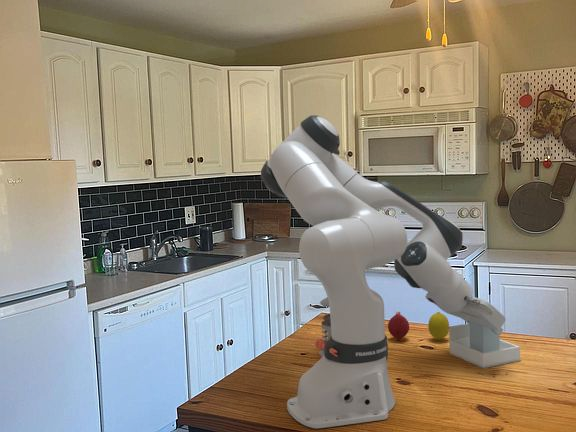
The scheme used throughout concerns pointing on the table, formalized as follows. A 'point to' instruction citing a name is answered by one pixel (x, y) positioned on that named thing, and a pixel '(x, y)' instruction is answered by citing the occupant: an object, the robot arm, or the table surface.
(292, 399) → the robot arm
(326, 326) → the french press
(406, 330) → the onion
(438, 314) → the lemon
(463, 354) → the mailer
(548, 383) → the table surface
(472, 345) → the carton
